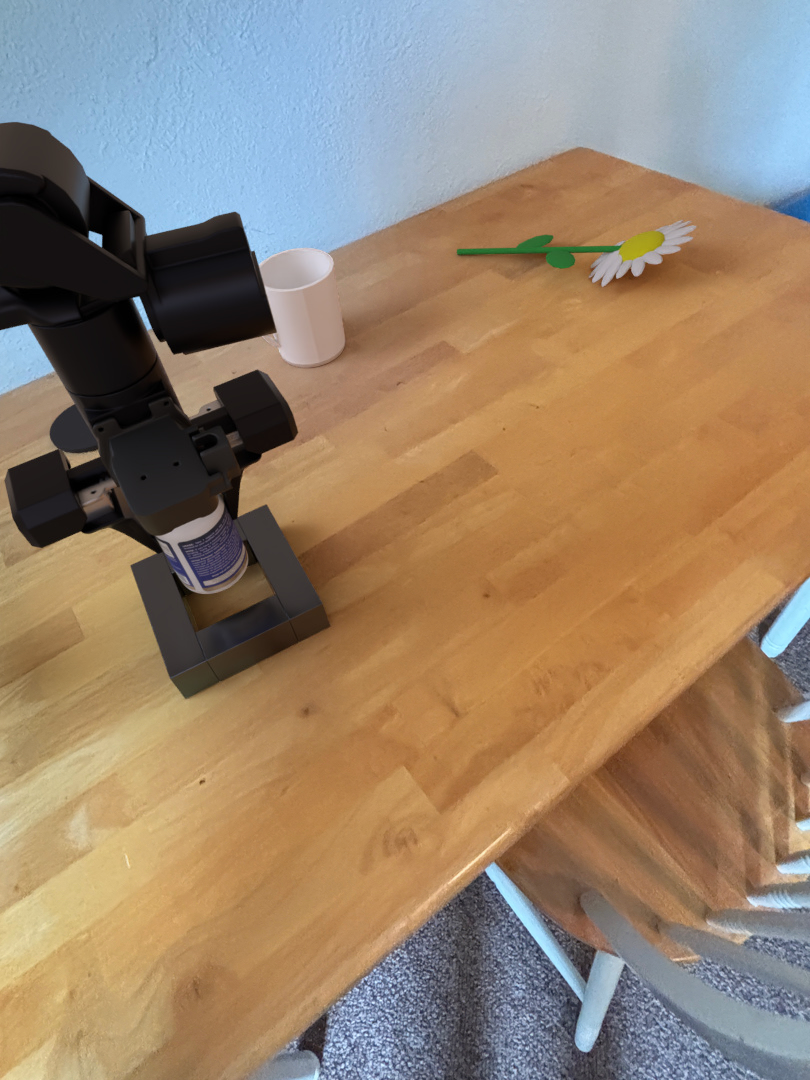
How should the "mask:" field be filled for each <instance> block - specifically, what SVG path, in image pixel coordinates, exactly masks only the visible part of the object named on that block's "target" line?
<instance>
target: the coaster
mask: <svg viewBox="0 0 810 1080" xmlns="http://www.w3.org/2000/svg"><path fill="white" fill-rule="evenodd" d="M49 438H50V441H51V442H52V444H53V445H54V447H56V448H57V449H60V450H62V451H63V452H64V453H69V454H81V453H83V454H84V453H89V452H93V451H95V450H98V442H97V440H96V439H95V437H94V435H93V434H92V432H91V430H90V429H89V427H88V425H87V424H86V422H85V420H84V419H83V417H82V415H81V413H80V412H79V410H78V408H77V407H76V405H75V403H74V404H72V405H70V406H69V407H67V408H66V409H64V410H63V411H62V412H61V413H59V414H58V415H57V417H55V419H54V420H53V422H52V424H51V425H50V428H49Z"/></svg>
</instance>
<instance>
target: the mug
mask: <svg viewBox="0 0 810 1080" xmlns="http://www.w3.org/2000/svg"><path fill="white" fill-rule="evenodd" d="M258 265H259V268H260V272H261V275H262V279H263V283H264V286H265V290H266V293H267V297H268V301H269V304H270V308H271V311H272V315H273V319H274V323H275V326H276V330H277V333H273V334H272V335H273V337H272V336H271V335H270V334H269V335H265V336H261V338H262V339H263V340H264V341H266V342H267V344H269V345H270V346H271V347H272V346H273V347H275V348H277V349H278V352H279V356H280V357H281V358H282V360H283V361H284V362H285V363H286V364H288V365H290V366H293V367H295V368H300V369H301V368H302V369H309V368H315V367H316V368H317V367H322V366H323V365H327V364H329V363H330V362H333V361H334V360H336V359H337V358H338V357H339V356H340V355H342V353H343V351H344V349H345V346H346V343H347V342H346V335H345V328H344V321H343V316H342V309H341V301H340V297H339V289H338V281H337V277H336V276H337V275H336V269H335V263H334V259H333V257H332V256H331V255H330V254H329V253H328V252H326V251H324V250H321V249H318V248H313V247H298V248H297V247H296V248H291V249H285V250H283V251H279V252H277V253H274V254H272V255H271V256H268V257H267V258H265V259H264V260H262V261H261V262H260V263H258Z"/></svg>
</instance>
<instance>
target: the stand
mask: <svg viewBox="0 0 810 1080" xmlns="http://www.w3.org/2000/svg"><path fill="white" fill-rule="evenodd" d="M233 521H234V524H235V526H236V528H237V530H238V533H239V535H240V537H241V539H242V541H243V543H244V546H245V548H246V551H247V554H248V565H247V568H249V567H251V566H254V565H256V564H257V565H258V566H259V568H260V570H261V572H262V574H263V576H264V578H265V580H266V582H267V584H268V586H269V588H270V590H271V592H272V593H273V595H271V596H269V597H267V598H265V599H263V600H260V601H259V602H256V603H254V604H252V605H250V606H248V607H246V608H244V609H241V610H240V611H238V612H236V613H233V614H231V615H229V616H227V617H225V618H223V619H221V620H219V621H217V622H215V623H213V624H210V625H209V626H206V627H204V628H202V629H199V626H198V624H197V621H196V619H195V616H194V614H193V611H192V609H191V606H190V603H189V602H188V599H187V596H189V595H192V594H193V593H194V592H193V591H191V590H190V589H188V588H187V587H186V586H185V585H184V584H183V583H182V581H181V580H180V579H179V577H178V575H177V573H176V572H175V570H174V568H173V567H172V565H171V564H170V562H169V560H168V558H167V557H166V555H165V553H164V552H162V553H160V554H157V553H156V552H155V553H154V554H152V555H150V556H148V557H147V556H146V558H143V559H141V560H139V561H137V562H133V563H132V564H130V565H129V567H130V570H131V573H132V575H133V578H134V581H135V583H136V586H137V589H138V592H139V595H140V598H141V600H142V603H143V606H144V609H145V612H146V615H147V618H148V620H149V623H150V626H151V629H152V632H153V635H154V638H155V640H156V643H157V646H158V649H159V652H160V654H161V658H162V661H163V663H164V666H165V669H166V672H167V675H168V677H169V679H170V681H171V682H172V684H173V685H174V686H175V687H176V689H177V690H178V691H179V694H180V695H181V696H182V697H183V698H184V699H185V700H187V699H189V698H191V697H194V696H195V695H198V694H200V693H202V692H203V691H205V690H207V689H209V688H211V687H213V686H215V685H217V684H219V683H222V682H223V681H225V680H227V679H229V678H232V677H233V676H235V675H238V674H240V673H241V672H243V671H246V670H248V669H249V668H251V667H253V666H255V665H257V664H259V663H261V662H264V661H266V660H267V659H269V658H271V657H273V656H275V655H277V654H279V653H281V652H283V651H285V650H287V649H289V648H291V647H294V646H295V645H297V644H299V643H301V642H303V641H305V640H306V639H309V638H310V637H313V636H314V635H316V634H319V633H321V632H323V631H324V630H326V629H328V628H330V627H332V625H331V623H330V620H329V616H328V613H327V611H326V607H325V605H324V602H323V601H322V599H321V597H320V595H319V594H318V592H317V590H316V588H315V586H314V585H313V583H312V582H311V580H310V578H309V576H308V575H307V573H306V571H305V569H304V567H303V566H302V564H301V562H300V560H299V558H298V557H297V555H296V553H295V552H294V549H293V547H292V546H291V545H290V543H289V541H288V539H287V538H286V535H285V534H284V532H283V530H282V529H281V527H280V525H279V523H278V522H277V520H276V518H275V516H274V514H273V512H272V510H271V509H270V507H269V506H268V504H264V505H261V506H259V507H257V508H255V509H252V510H250V511H248V512H245V513H243V514H241V515H238V518H237V519H235V520H233Z"/></svg>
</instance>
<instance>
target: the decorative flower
mask: <svg viewBox="0 0 810 1080" xmlns="http://www.w3.org/2000/svg"><path fill="white" fill-rule="evenodd" d="M692 222H693V221H692V220H687V221H684V219H680V220H678V221H675V222H674V223H672V224H668V225H667V224H666V225H663V226H661V227H658V228H657V229H655V230H647V231H644V232H640V233H637V234H636V235H633V236H632V237H630V238H629V239H627V240H621V241H619V242H617V243H616V244H614V245H575V246H546V245H548V244H550V243H552V241H553V239H554V235H553V234H541V235H536V236H534V237H530V238H528V239H526V240H524V241H522V242H520V243H518V244H517V246H516V247H483V248H482V247H480V248H479V247H477V248H473V247H472V248H457V249H456V255H457V256H473V255H475V256H478V255H483V256H484V255H535V254H537V255H538V254H539V255H540V254H542V255H543V254H546V255H545V261H546V264H548V265H550V266H551V267H552V268H556V269H559V270H563V269H569V268H572V267H573V266H575V263H576V257H575V255H574V254H591V253H592V254H594V253H595V254H599V253H601V255H599V256H598V258H596V259H595V260H594V261H593V263H591V265H590V266H589V268H590V269H591V270H592V269H593V270H592V271H591V272H590V273H589V275H588V279H591V278H592V279H591V283H592V284H594V283H597V282H598V281H600V280H601V279H602V280H601V283H600V285H601V287H602V288H604V287H606V286H608V284H610V282H611V281H612V280H613V278H614V277H615V279H621V278H622V277H623V276H624V275H625V274H627V272H628V271H629V270H630V269H631V273H632V275H633V276H634V277H639V276H641V275H642V273H643V272H644V270H645V267H646V264H649V265H659V264H662V262H663V261H664V260H663V256H664V255H665V256H666V255H673V254H675V253H678V252H680V251H681V250H682V247H680V246H679V245H683V244H686V243H688V242H691V241H692V240H693V239H694V237H693V236H691V235H688V234H690V233H691V232H693V231H695V230H696V228H697V227H698V226H697V225H690V224H691V223H692Z"/></svg>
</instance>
